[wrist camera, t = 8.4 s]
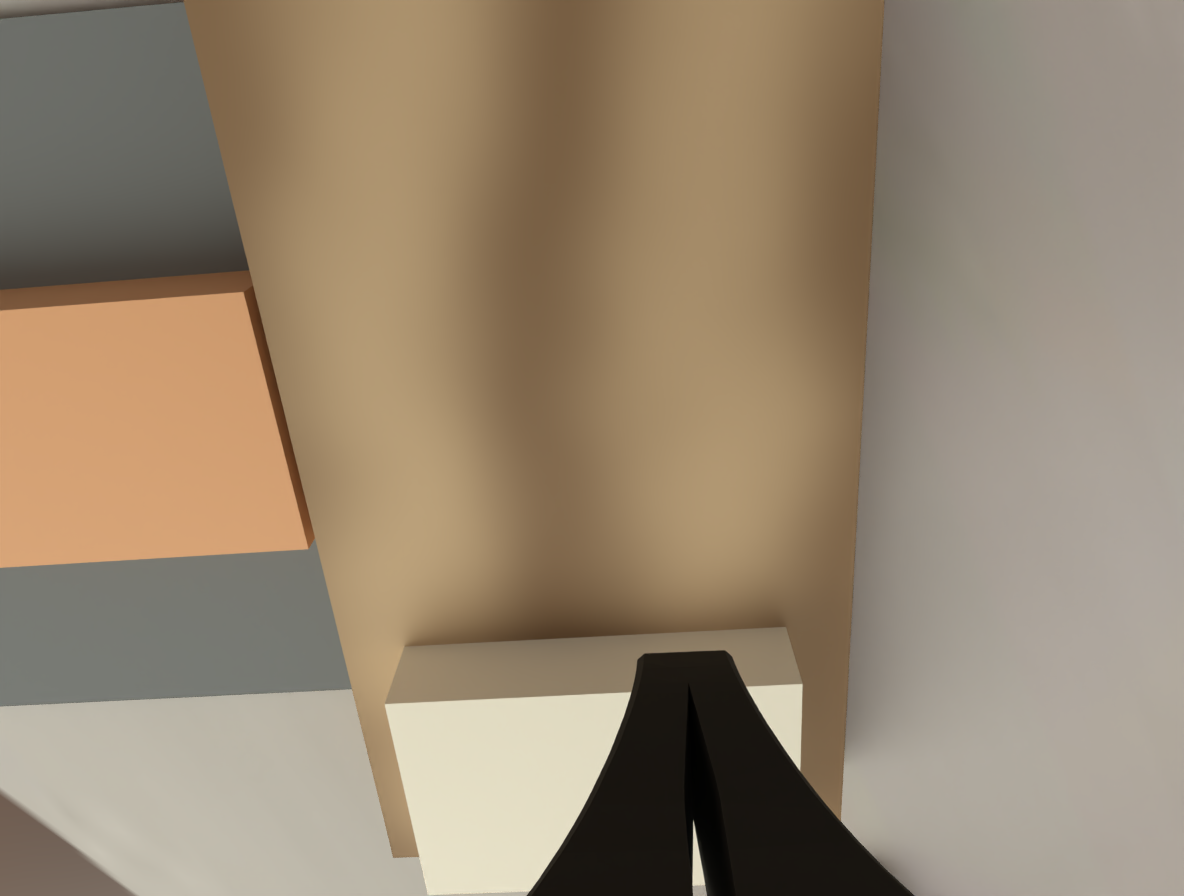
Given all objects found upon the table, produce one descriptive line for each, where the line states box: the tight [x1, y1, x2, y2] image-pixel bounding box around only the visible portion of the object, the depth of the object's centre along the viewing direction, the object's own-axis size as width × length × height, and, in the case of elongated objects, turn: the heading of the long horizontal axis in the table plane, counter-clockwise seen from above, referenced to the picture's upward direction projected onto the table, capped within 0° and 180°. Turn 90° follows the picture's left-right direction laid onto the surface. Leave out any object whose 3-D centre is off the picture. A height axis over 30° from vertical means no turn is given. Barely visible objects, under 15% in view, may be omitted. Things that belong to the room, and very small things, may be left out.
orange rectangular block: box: [0, 270, 315, 568], centre depth 20 cm, size 9×6×2 cm, turn 95°
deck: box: [183, 0, 884, 858], centre depth 20 cm, size 12×22×2 cm, turn 5°
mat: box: [0, 2, 352, 706], centre depth 21 cm, size 12×17×1 cm
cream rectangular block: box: [385, 627, 803, 895], centre depth 21 cm, size 9×6×2 cm, turn 95°
